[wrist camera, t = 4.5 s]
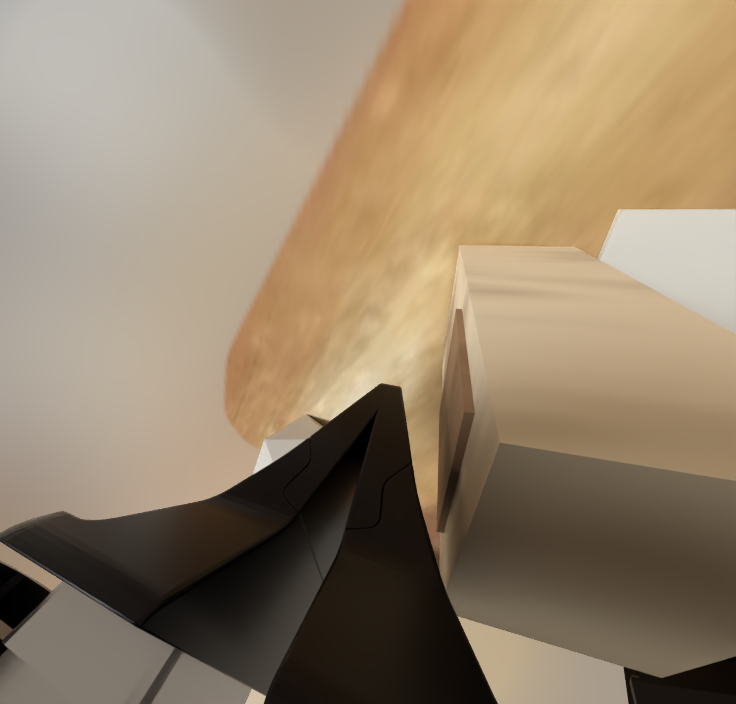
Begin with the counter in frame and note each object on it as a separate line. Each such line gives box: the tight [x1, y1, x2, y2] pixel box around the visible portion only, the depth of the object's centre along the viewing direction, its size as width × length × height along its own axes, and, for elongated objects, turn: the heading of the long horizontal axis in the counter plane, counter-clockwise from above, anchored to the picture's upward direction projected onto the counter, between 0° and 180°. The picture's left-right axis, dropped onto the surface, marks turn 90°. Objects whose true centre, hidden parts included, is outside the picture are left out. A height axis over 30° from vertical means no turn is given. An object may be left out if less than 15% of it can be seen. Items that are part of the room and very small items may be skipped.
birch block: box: [437, 245, 736, 678], centre depth 10 cm, size 7×5×12 cm
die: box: [253, 414, 323, 474], centre depth 24 cm, size 8×9×10 cm
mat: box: [597, 209, 736, 334], centre depth 12 cm, size 10×8×1 cm
